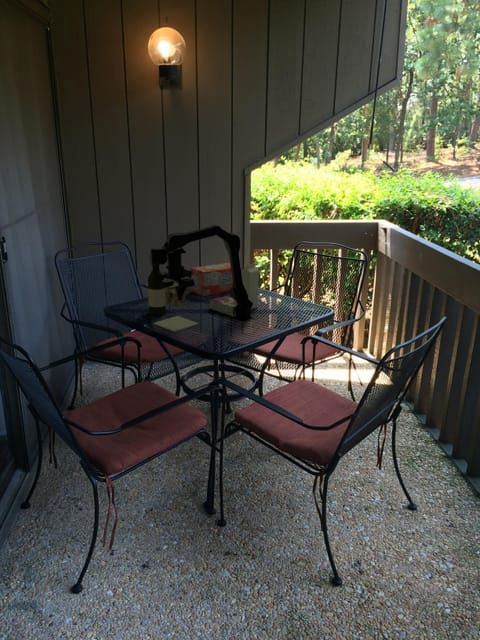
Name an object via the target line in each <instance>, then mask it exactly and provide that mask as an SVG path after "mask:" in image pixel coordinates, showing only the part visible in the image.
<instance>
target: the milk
mask: <svg viewBox="0 0 480 640" xmlns="http://www.w3.org/2000/svg"><path fill="white" fill-rule="evenodd" d="M255 265H256V264H255V263H254V262H253V263H248V264H245V268H242V270H241V273H242V280H243V285H244V287H245V289H246V292H247V295H248V299H249V300H250V301H251V302H252V303H253V305H252V308H255V309H257V308H258V302H259V300H258V299H259V297H258V296H259V295H258V294H259V273H260V272H259V269H258V268H257V267H256V266H255ZM256 307H257V308H256ZM252 308H251V310H253V309H252Z"/></svg>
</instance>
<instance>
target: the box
mask: <svg viewBox="0 0 480 640" xmlns="http://www.w3.org/2000/svg"><path fill="white" fill-rule="evenodd" d="M240 266H241V270H243V265H240ZM189 271H193V273H192V277H191V278H190V279H193V280H194V286H191V287H189V290H190V292H192V293H194V294H197V295H199V296H201V297H206V296H212V295H218V294H223V293H229V292H230V288H232V287H233V279H232V272H231V266H230V262H225V263H217V264H210V265H203V266H196V267H190V270H189ZM230 293H231V292H230Z"/></svg>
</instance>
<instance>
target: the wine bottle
mask: <svg viewBox="0 0 480 640" xmlns="http://www.w3.org/2000/svg"><path fill="white" fill-rule="evenodd" d="M151 266H152V269H151V272H150V273H149V275H148V277H147V289H148V290H147V291H148V292H147V293H148V294H147V295H148V296H147V297H148V314H150V316H153V317H155V316H159V317H160V316H163V315H166V314H167V310H166V309H167V308H166V305H167V303H166V289H165V287H164V286H163V284H162V283H161V282H162V281H159V280H157V275H158V273H162V272H161V270H160V265H151Z"/></svg>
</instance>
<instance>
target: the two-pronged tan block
mask: <svg viewBox="0 0 480 640" xmlns="http://www.w3.org/2000/svg"><path fill="white" fill-rule="evenodd" d="M175 286H179V285H178V284H175V285H174V284H173V286H169V287H165V301H166V304H171V303H172V306H175V307H176V306H178V305H179V303H180V304H183V305H184V304H186V290H185V291H184V294H183V297H182V300H181V301H179V299H178V295H177V291H176V287H175ZM171 293H172V298H171Z"/></svg>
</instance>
